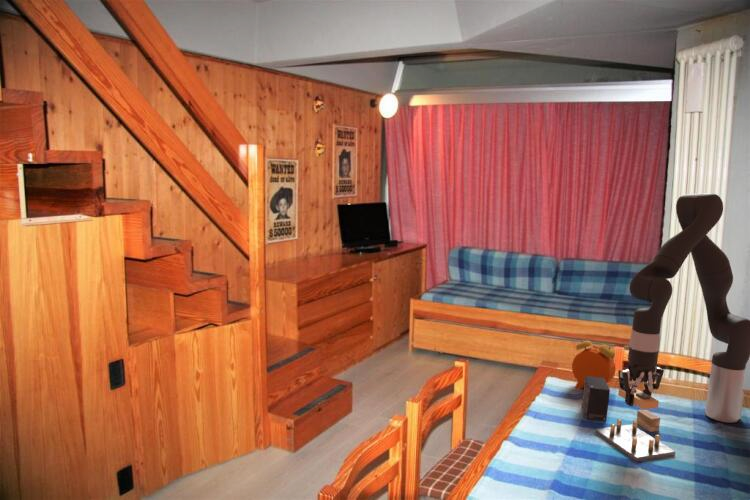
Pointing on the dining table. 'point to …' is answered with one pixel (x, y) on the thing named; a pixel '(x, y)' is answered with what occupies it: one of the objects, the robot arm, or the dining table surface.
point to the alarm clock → (593, 362)
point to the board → (641, 399)
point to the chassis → (634, 442)
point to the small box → (595, 398)
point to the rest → (648, 420)
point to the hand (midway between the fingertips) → (637, 404)
